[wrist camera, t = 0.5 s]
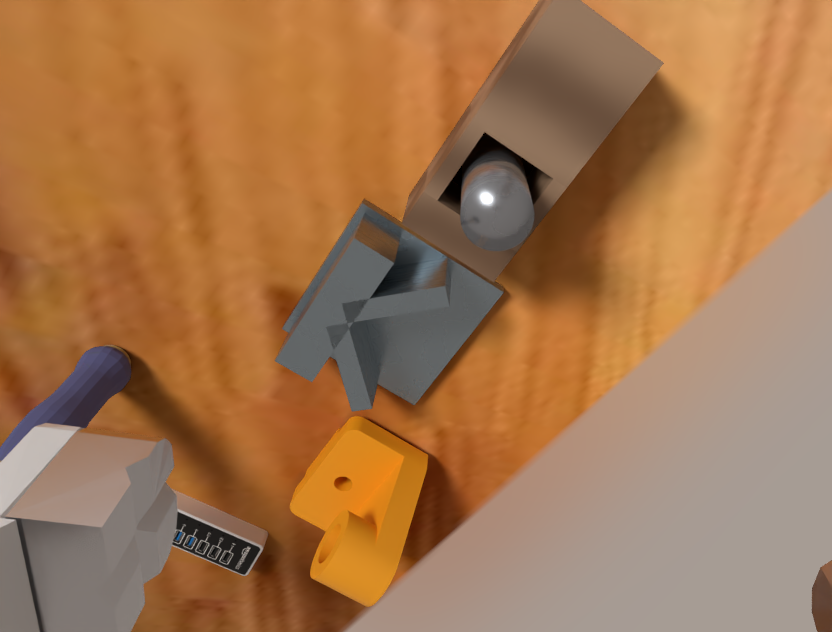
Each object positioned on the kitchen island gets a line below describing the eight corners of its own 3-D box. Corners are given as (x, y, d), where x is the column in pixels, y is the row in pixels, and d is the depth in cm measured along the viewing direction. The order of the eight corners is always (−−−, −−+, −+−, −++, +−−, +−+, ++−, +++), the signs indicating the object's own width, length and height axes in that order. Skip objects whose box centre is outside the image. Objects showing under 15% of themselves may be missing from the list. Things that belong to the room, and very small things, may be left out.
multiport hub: (122, 463, 63) (110, 480, 61) (270, 529, 65) (264, 547, 63) (108, 496, 65) (96, 514, 63) (252, 559, 67) (246, 578, 65)
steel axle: (485, 122, 47) (488, 166, 37) (533, 155, 48) (549, 207, 38) (451, 171, 49) (446, 226, 39) (498, 203, 49) (505, 264, 40)
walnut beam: (550, -18, 43) (562, -14, 38) (640, 50, 44) (663, 62, 39) (409, 194, 50) (401, 223, 44) (491, 247, 51) (493, 282, 46)
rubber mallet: (203, 372, 58) (-29, 732, 31) (158, 429, 61) (-88, 803, 34) (65, 281, 55) (-322, 592, 28) (26, 345, 58) (-358, 682, 31)
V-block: (364, 198, 50) (351, 227, 45) (503, 286, 52) (506, 324, 47) (285, 322, 55) (265, 362, 50) (415, 398, 57) (409, 443, 52)
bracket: (355, 406, 58) (329, 507, 48) (428, 448, 60) (419, 556, 49) (292, 488, 63) (255, 598, 52) (362, 526, 64) (340, 640, 53)
